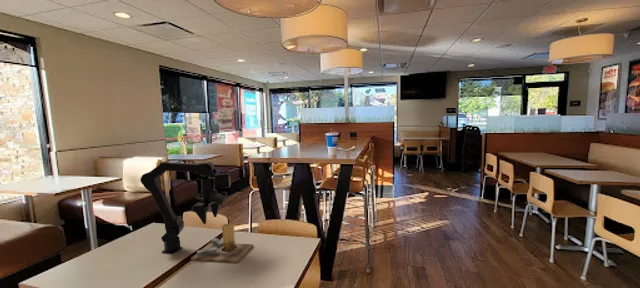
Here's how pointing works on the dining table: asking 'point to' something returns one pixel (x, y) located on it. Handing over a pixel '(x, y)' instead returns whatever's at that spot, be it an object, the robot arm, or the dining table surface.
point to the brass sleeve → (228, 237)
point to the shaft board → (221, 252)
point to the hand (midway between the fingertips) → (210, 220)
